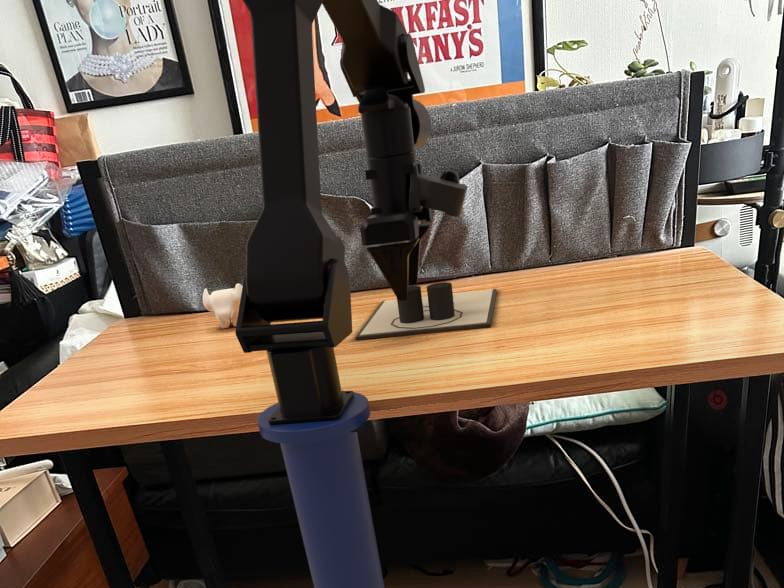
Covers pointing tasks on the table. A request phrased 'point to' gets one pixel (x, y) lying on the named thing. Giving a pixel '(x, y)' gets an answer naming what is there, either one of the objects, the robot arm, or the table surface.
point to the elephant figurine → (224, 304)
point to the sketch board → (468, 311)
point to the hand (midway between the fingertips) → (408, 292)
